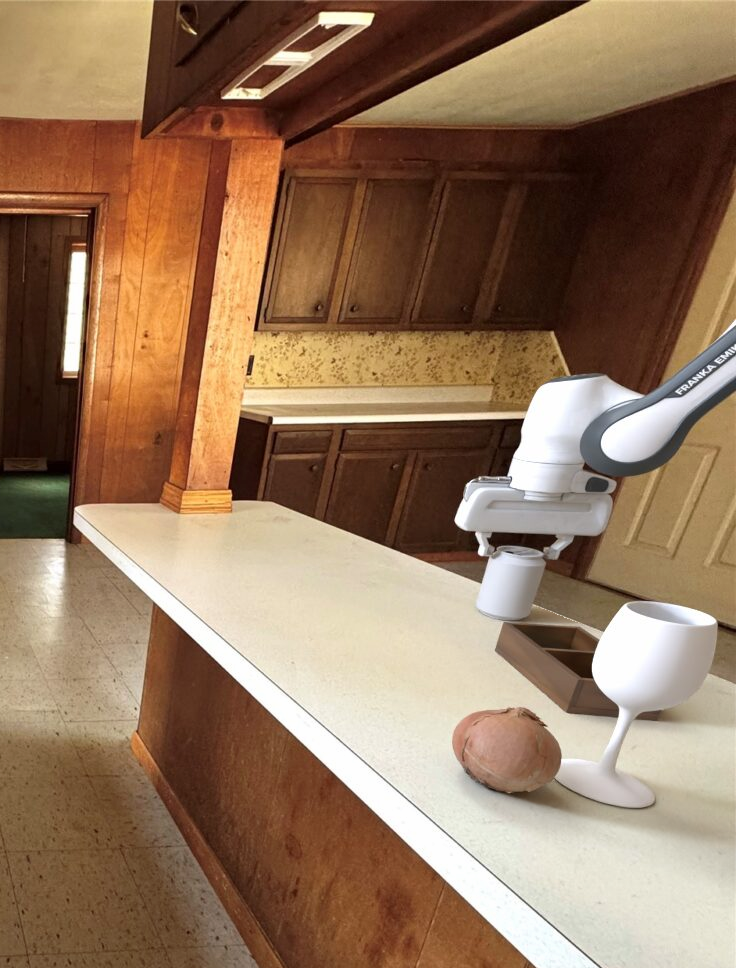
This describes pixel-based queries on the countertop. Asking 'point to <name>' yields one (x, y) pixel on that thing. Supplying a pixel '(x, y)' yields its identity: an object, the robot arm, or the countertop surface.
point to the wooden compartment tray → (559, 666)
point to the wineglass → (642, 686)
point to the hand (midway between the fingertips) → (516, 557)
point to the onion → (507, 749)
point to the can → (510, 582)
